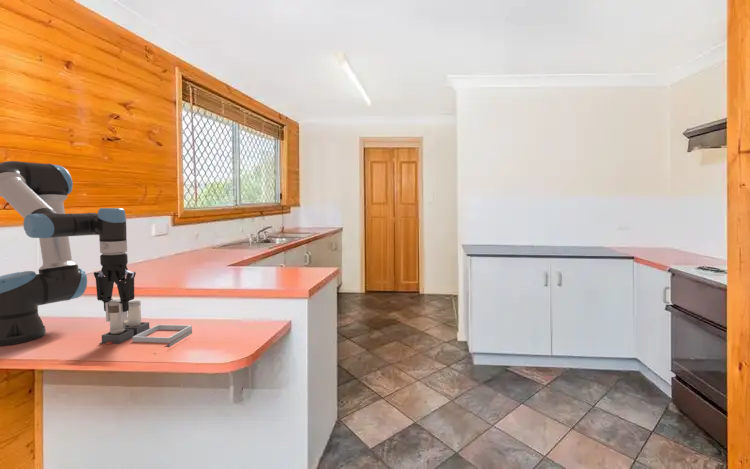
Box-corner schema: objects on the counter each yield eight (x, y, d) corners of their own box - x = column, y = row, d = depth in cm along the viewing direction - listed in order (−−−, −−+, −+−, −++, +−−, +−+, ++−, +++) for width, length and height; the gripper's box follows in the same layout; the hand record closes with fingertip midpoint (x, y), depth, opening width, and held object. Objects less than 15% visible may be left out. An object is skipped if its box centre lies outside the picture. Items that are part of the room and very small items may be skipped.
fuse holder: (98, 348, 120) (97, 336, 120) (134, 331, 137) (133, 321, 136) (118, 348, 120) (117, 337, 120) (151, 332, 136) (151, 321, 136)
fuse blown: (107, 334, 123) (105, 302, 122) (116, 329, 127) (115, 299, 126) (118, 334, 122) (117, 302, 121) (127, 330, 126) (126, 299, 125)
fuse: (125, 333, 131) (124, 303, 130) (134, 329, 135) (132, 300, 134) (136, 333, 130) (135, 303, 129) (144, 329, 134) (143, 300, 134)
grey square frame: (132, 345, 123) (132, 336, 122) (158, 332, 136) (158, 324, 135) (169, 346, 122) (169, 338, 121) (192, 333, 135) (191, 325, 135)
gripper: (80, 254, 119) (84, 323, 121) (129, 255, 118) (132, 324, 120) (99, 251, 127) (102, 316, 128) (145, 252, 125) (148, 318, 127)
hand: (116, 320), depth 124 cm, fingers closed on fuse blown, 4 cm apart
